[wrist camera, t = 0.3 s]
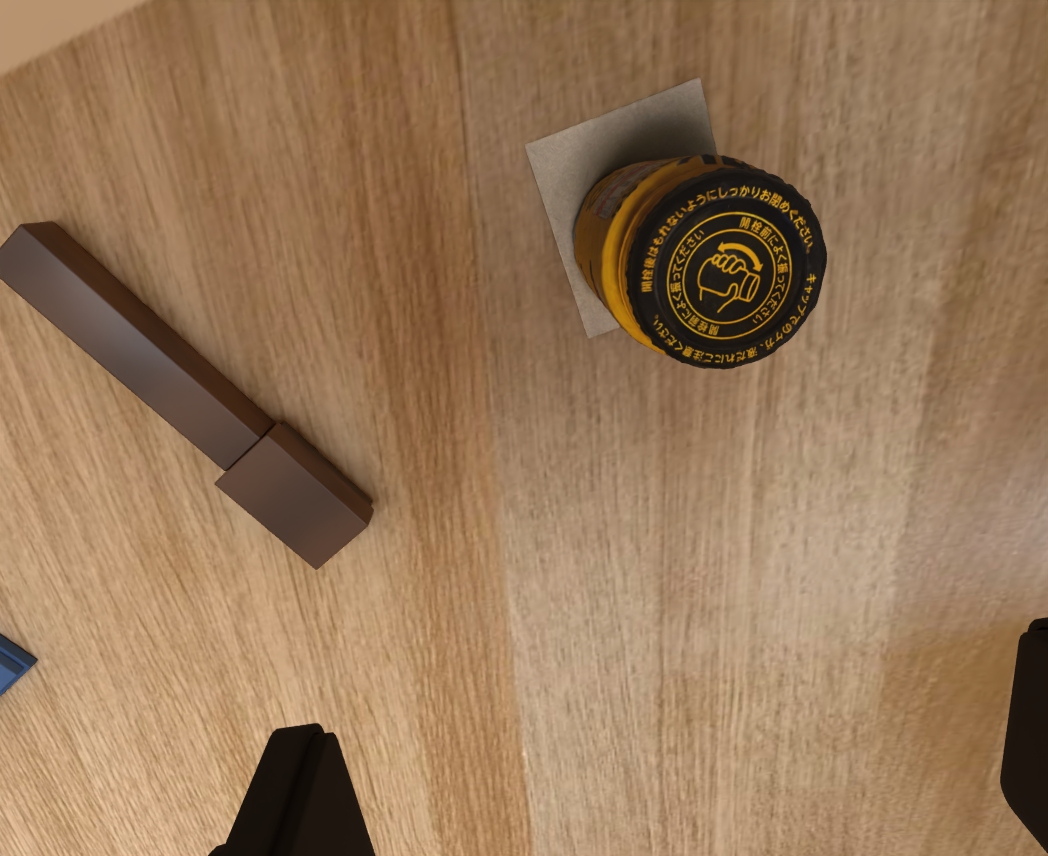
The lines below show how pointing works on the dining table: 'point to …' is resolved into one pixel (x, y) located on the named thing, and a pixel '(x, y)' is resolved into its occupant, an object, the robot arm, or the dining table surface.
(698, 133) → the condiment
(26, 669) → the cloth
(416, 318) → the dining table surface
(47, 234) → the brown bar
